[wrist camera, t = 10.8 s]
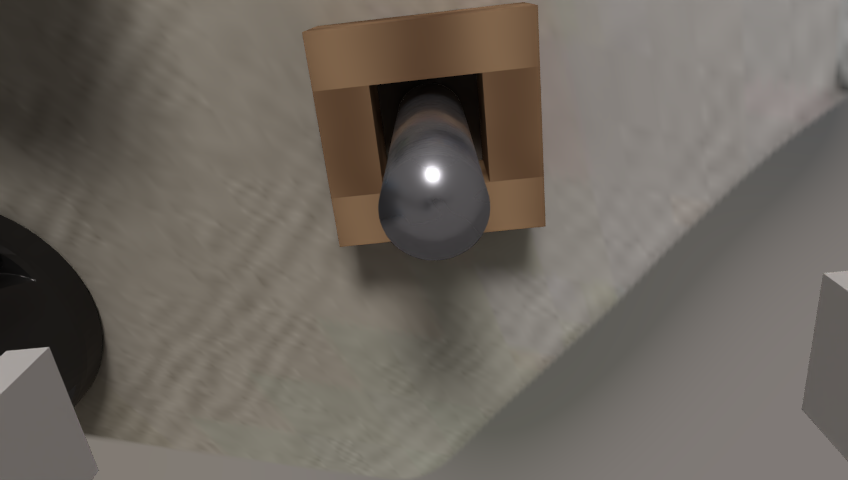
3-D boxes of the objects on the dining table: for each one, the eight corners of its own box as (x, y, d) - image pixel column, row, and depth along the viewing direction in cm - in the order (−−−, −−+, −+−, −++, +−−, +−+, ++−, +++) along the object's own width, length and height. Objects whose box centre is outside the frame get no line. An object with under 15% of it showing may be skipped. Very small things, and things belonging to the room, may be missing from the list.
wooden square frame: (349, 218, 34) (339, 246, 30) (317, 26, 30) (302, 32, 26) (532, 199, 33) (545, 226, 30) (523, 2, 29) (537, 4, 26)
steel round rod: (401, 152, 32) (385, 265, 19) (393, 86, 31) (370, 161, 18) (466, 145, 32) (494, 255, 19) (460, 79, 31) (486, 148, 18)
